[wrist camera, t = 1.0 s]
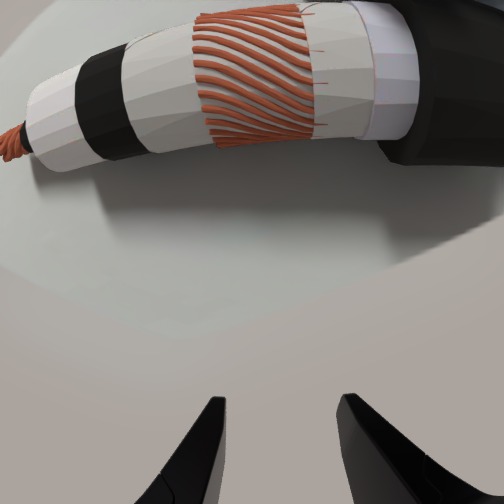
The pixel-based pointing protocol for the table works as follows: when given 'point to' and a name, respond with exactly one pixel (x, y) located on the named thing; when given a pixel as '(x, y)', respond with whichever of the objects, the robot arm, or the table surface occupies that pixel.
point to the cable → (285, 85)
